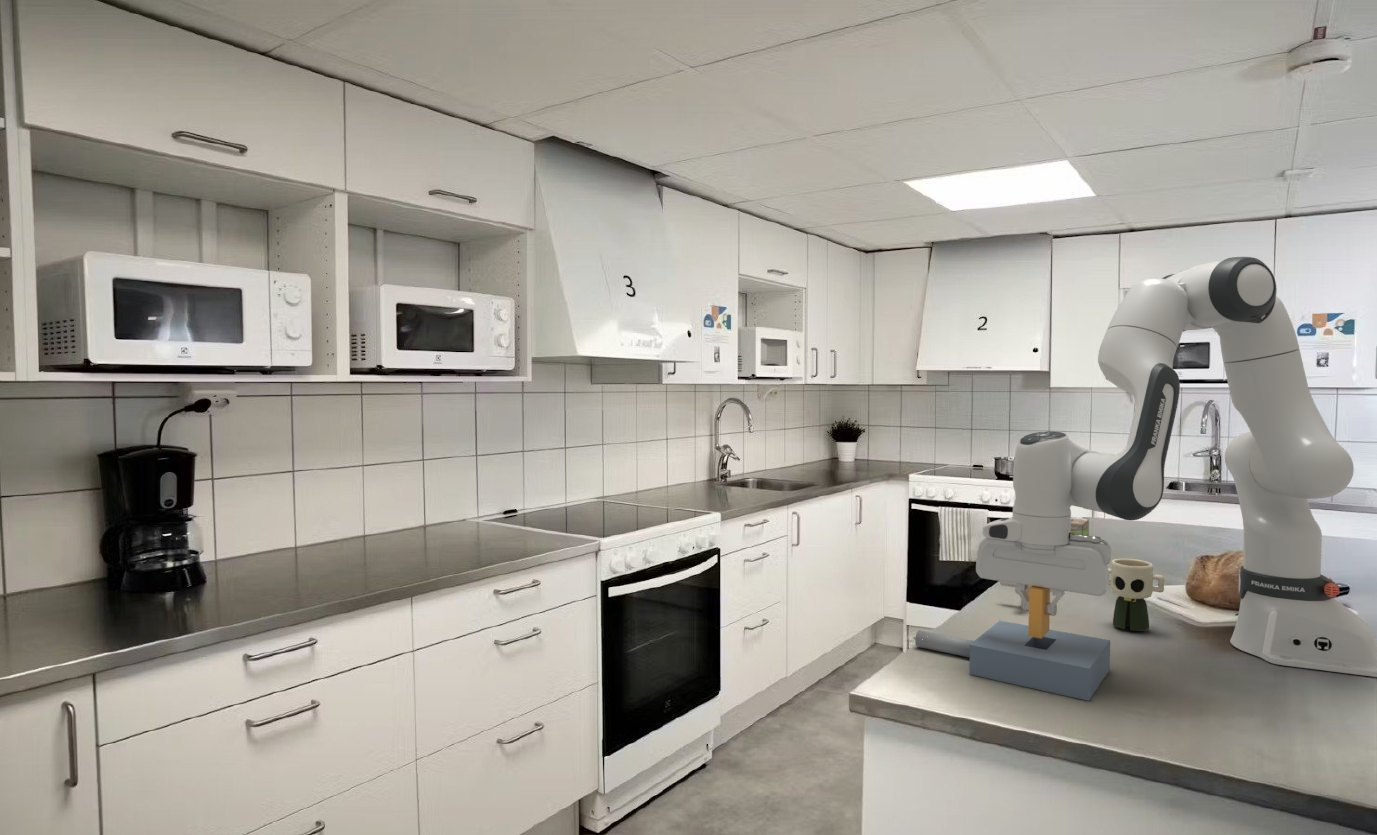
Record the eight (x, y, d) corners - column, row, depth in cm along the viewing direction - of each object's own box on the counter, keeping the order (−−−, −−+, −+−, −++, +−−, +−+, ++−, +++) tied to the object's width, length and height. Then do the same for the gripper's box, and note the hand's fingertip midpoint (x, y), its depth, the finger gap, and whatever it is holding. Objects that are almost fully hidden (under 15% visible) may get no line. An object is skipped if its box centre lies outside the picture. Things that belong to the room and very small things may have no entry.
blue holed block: (1109, 669, 133) (1110, 640, 132) (1088, 700, 120) (1089, 668, 120) (934, 635, 151) (934, 609, 151) (900, 659, 139) (900, 631, 138)
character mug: (1095, 627, 155) (1096, 562, 154) (1104, 619, 160) (1105, 555, 159) (1159, 639, 148) (1161, 570, 147) (1166, 629, 153) (1167, 563, 152)
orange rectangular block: (1036, 628, 134) (1037, 581, 134) (1049, 630, 133) (1050, 583, 133) (1028, 636, 130) (1029, 588, 130) (1041, 638, 129) (1042, 590, 129)
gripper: (1115, 534, 127) (1113, 619, 128) (985, 520, 140) (984, 598, 140) (1107, 541, 122) (1104, 629, 123) (973, 526, 135) (972, 606, 135)
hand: (1039, 612), depth 132 cm, fingers closed on orange rectangular block, 2 cm apart
